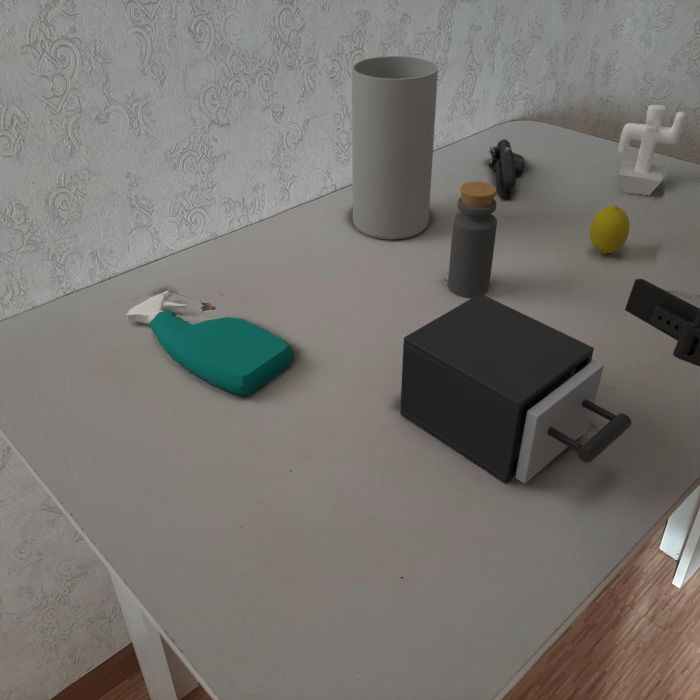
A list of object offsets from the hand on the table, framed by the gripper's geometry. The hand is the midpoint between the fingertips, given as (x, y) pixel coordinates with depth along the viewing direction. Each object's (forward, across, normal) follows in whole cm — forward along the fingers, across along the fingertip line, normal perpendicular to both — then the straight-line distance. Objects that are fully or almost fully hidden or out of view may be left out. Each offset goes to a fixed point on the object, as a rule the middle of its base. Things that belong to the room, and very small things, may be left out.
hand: (690, 291), depth 61 cm
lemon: (+38, +32, -12) cm, 51 cm away
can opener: (+68, +34, -9) cm, 76 cm away
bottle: (+39, +8, -17) cm, 44 cm away
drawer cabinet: (+14, -5, -22) cm, 27 cm away
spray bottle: (+42, -29, -25) cm, 57 cm away
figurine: (+54, +53, -6) cm, 76 cm away
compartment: (+10, -3, -21) cm, 23 cm away
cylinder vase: (+62, +8, -15) cm, 64 cm away
